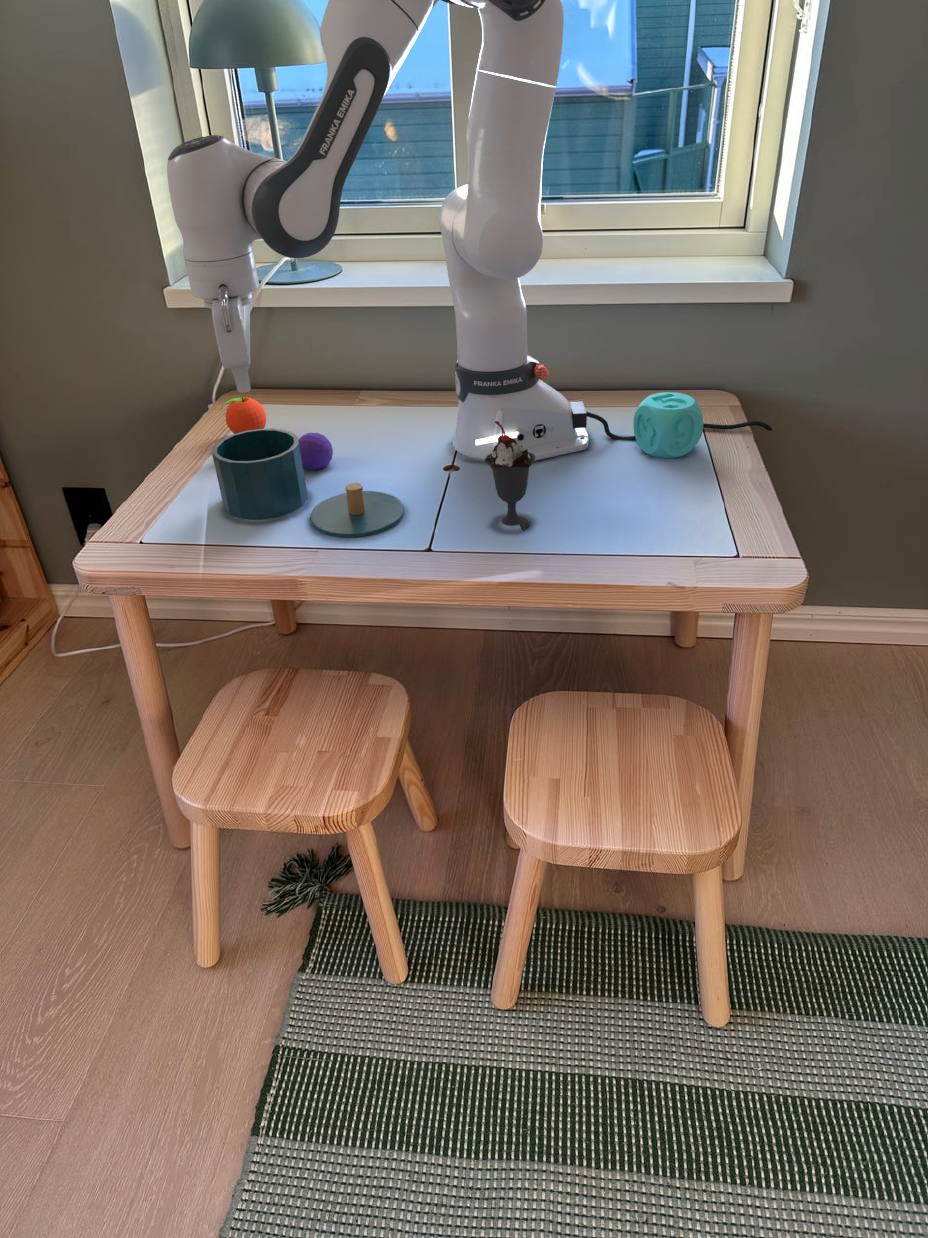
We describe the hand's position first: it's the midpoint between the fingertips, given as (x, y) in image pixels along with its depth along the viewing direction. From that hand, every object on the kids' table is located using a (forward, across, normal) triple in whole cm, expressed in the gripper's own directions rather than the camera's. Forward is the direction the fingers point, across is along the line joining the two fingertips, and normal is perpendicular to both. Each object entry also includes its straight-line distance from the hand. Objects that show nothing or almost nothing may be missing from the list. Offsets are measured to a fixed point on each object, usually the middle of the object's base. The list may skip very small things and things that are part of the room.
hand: (244, 379), depth 128 cm
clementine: (+20, +28, +4) cm, 34 cm away
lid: (+19, -9, -12) cm, 24 cm away
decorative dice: (+21, +1, -63) cm, 67 cm away
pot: (+19, 0, +1) cm, 19 cm away
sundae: (+20, -17, -33) cm, 43 cm away
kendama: (+20, +14, -1) cm, 24 cm away
